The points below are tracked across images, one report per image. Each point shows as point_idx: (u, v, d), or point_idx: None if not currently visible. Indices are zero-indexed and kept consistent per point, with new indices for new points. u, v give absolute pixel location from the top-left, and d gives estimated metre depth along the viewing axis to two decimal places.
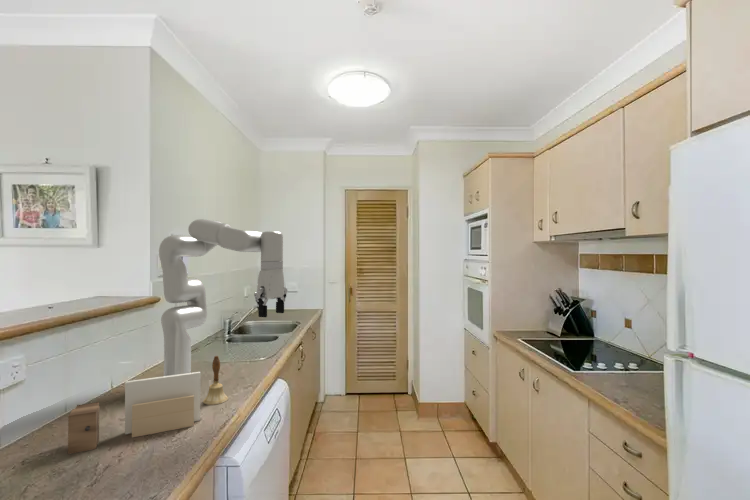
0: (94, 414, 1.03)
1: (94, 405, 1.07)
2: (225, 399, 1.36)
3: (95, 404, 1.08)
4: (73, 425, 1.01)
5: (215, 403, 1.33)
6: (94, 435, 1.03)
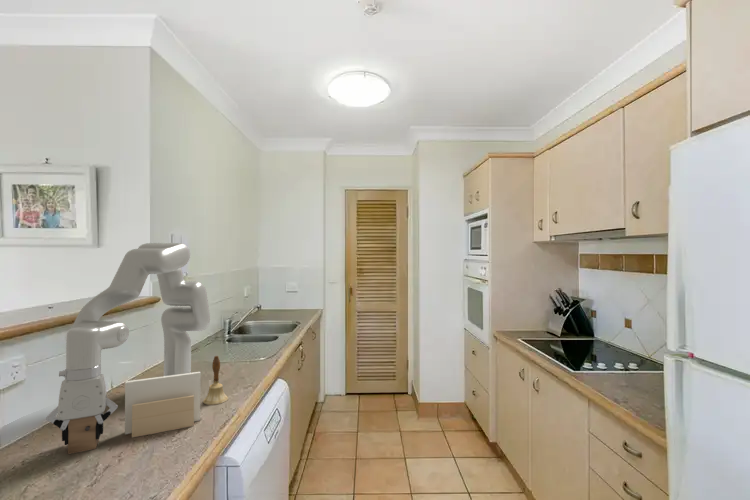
0: None
1: None
2: (225, 399, 1.36)
3: None
4: (73, 425, 1.01)
5: (215, 403, 1.33)
6: (94, 435, 1.03)
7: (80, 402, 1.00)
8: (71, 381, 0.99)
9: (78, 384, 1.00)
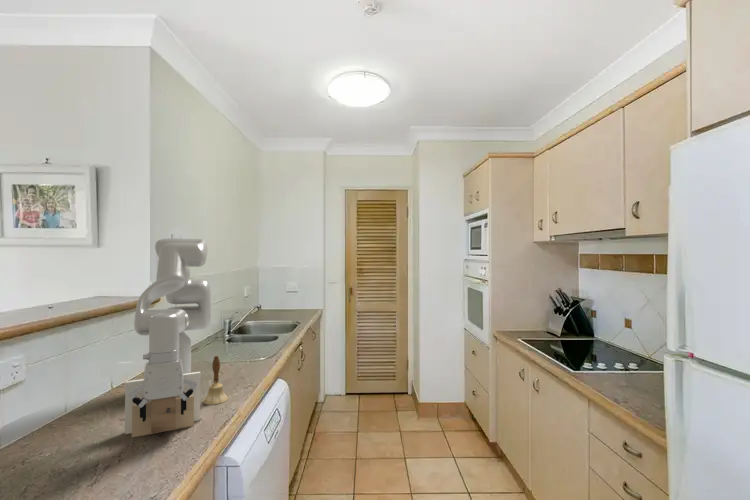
0: (174, 397, 1.09)
1: None
2: (225, 399, 1.36)
3: None
4: (155, 407, 1.07)
5: (215, 403, 1.33)
6: (174, 416, 1.10)
7: (163, 383, 1.07)
8: (155, 363, 1.06)
9: (161, 366, 1.07)
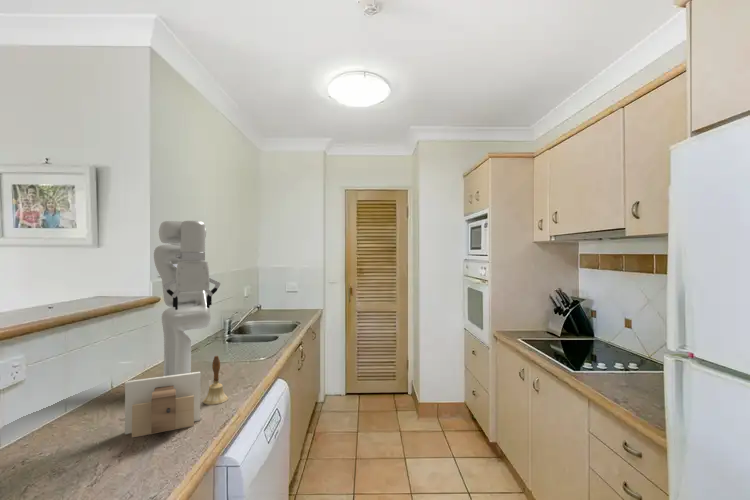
0: (174, 397, 1.09)
1: (171, 389, 1.13)
2: (225, 399, 1.36)
3: (171, 387, 1.14)
4: (155, 407, 1.07)
5: (215, 403, 1.33)
6: (174, 416, 1.10)
7: (192, 278, 1.26)
8: (186, 260, 1.25)
9: (190, 264, 1.26)
